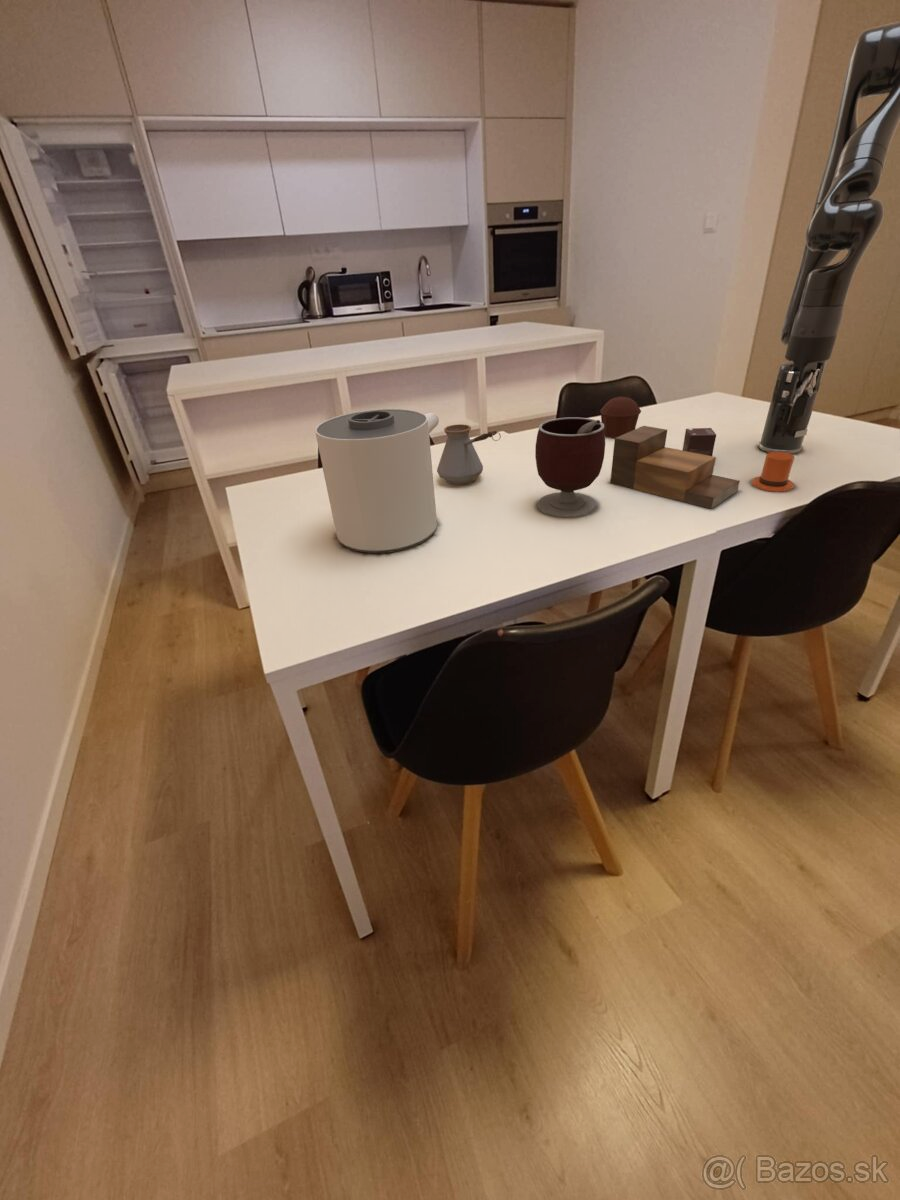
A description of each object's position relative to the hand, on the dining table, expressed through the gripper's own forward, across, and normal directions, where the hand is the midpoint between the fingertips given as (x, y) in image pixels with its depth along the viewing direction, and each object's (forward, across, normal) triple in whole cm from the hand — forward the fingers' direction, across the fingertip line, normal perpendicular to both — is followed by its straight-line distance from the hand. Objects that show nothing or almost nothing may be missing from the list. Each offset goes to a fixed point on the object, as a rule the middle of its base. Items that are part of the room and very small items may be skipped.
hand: (789, 420), depth 108 cm
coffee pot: (+14, -41, +53) cm, 68 cm away
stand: (+14, -14, +16) cm, 25 cm away
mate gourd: (+14, -37, +27) cm, 48 cm away
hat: (+14, 0, 0) cm, 14 cm away
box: (+14, +5, +20) cm, 25 cm away
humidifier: (+15, -68, +48) cm, 84 cm away
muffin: (+14, +14, +48) cm, 52 cm away
